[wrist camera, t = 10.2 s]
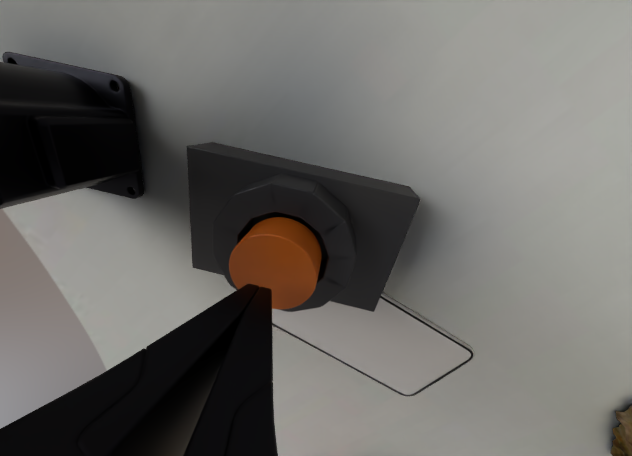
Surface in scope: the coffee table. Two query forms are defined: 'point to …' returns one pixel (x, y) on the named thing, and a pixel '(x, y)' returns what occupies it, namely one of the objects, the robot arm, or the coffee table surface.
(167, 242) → the coffee table surface
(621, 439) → the seashell
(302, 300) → the button
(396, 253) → the button block
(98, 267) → the coffee table surface
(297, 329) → the smartphone
